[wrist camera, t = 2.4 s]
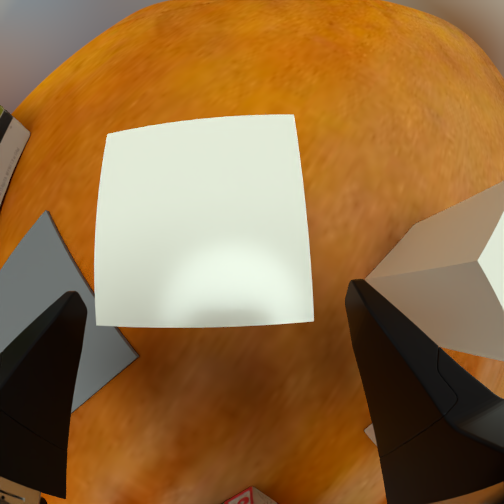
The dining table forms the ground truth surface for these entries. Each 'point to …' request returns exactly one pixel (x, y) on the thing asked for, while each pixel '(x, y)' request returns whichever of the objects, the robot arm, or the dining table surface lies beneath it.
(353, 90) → the dining table surface
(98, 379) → the charcoal mat
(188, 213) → the white rectangular prism
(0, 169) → the tea box
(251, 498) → the stack of blocks
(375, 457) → the dining table surface
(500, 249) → the tall white pillar block
